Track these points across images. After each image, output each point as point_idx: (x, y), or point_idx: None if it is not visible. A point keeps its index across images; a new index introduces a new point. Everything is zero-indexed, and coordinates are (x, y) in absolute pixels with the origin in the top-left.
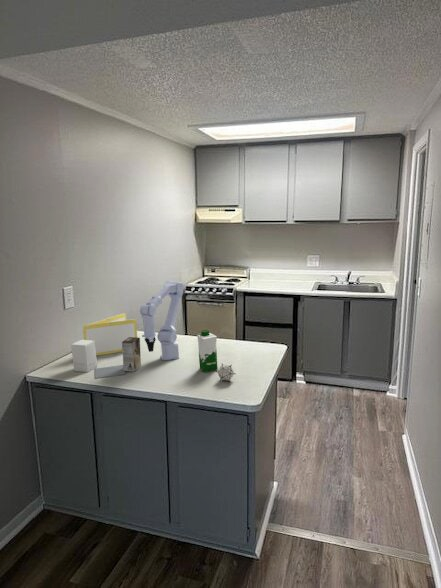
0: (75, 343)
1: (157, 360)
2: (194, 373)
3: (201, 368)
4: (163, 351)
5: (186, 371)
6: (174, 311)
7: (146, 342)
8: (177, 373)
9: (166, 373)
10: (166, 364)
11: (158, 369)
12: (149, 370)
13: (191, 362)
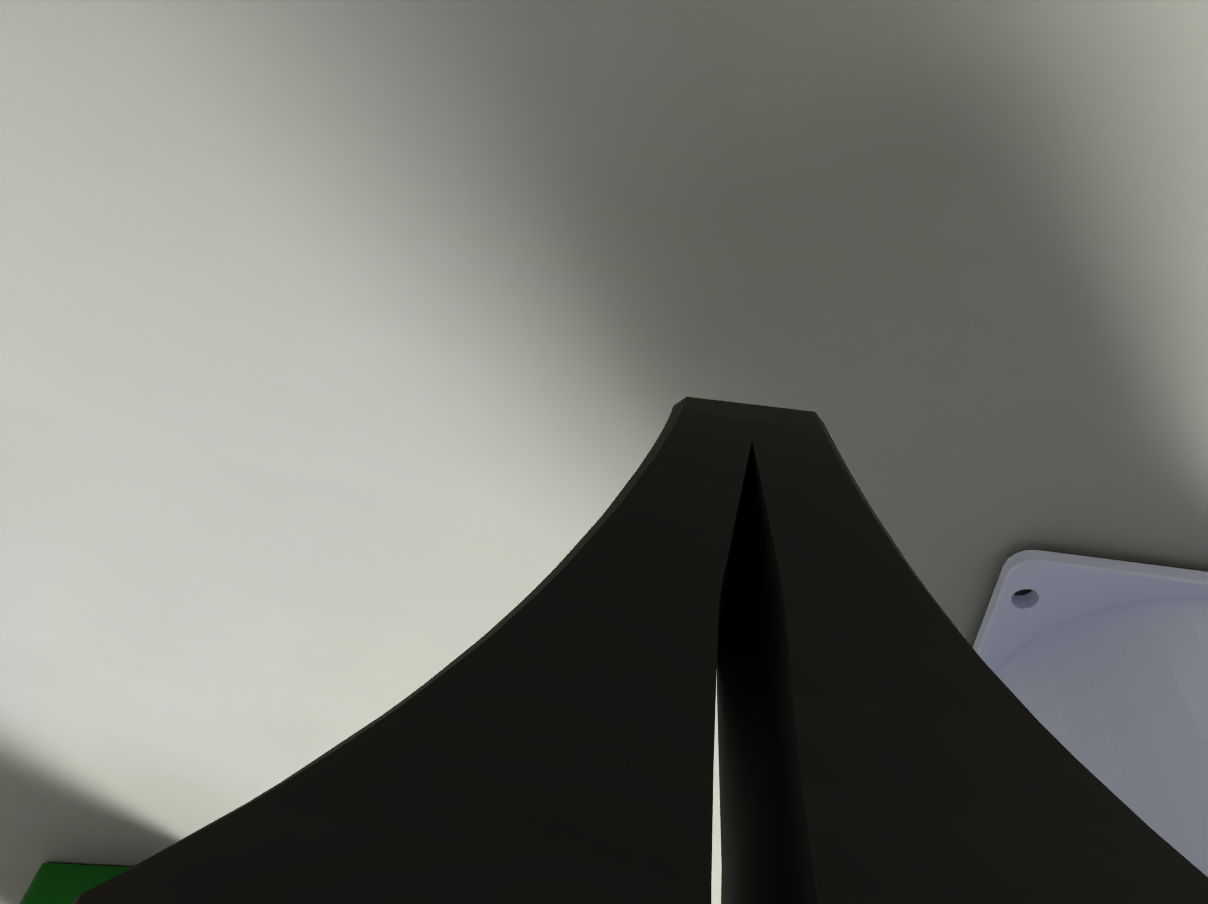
0: None
1: (1157, 445)
2: (20, 755)
3: None
4: (1159, 788)
5: (132, 702)
6: None
7: (190, 849)
8: (51, 563)
9: (78, 389)
10: None
11: (400, 294)
12: (403, 33)
13: None
